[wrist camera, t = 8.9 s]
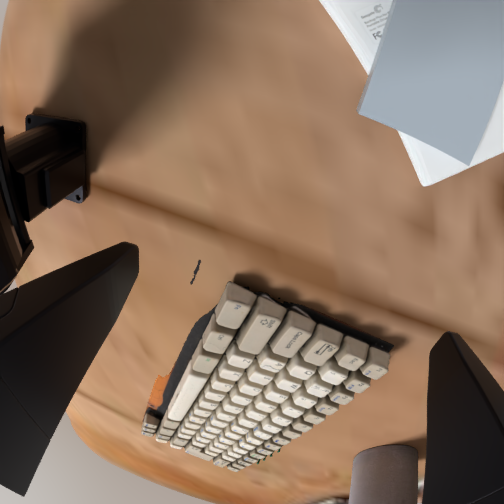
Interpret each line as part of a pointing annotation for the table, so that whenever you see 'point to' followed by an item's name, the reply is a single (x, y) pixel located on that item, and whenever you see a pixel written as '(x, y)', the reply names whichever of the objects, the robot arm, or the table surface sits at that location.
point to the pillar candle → (385, 476)
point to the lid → (438, 72)
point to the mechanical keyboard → (259, 378)
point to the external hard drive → (421, 154)
